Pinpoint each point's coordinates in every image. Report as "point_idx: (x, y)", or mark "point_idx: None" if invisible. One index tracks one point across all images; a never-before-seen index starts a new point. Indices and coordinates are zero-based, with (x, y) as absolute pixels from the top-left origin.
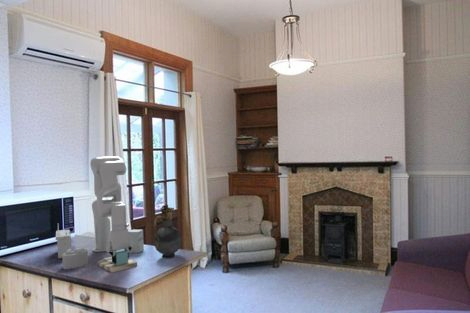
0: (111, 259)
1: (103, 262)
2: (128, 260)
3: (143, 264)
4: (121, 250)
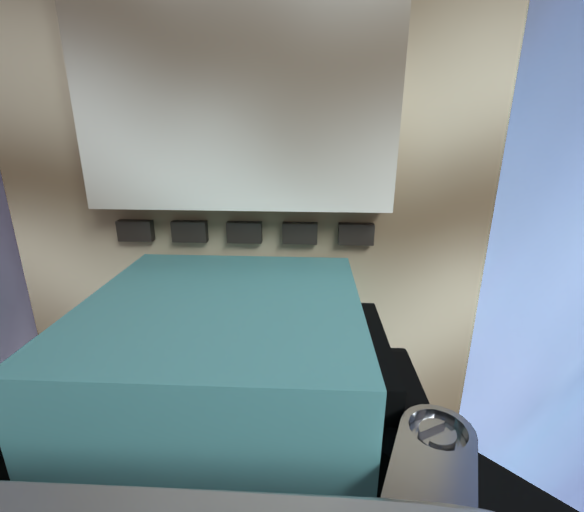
0: (156, 63)
1: (15, 9)
2: (421, 276)
3: (525, 416)
4: (284, 425)
